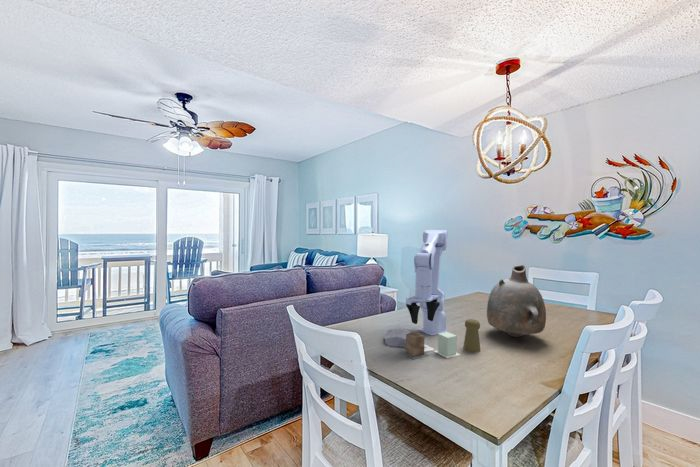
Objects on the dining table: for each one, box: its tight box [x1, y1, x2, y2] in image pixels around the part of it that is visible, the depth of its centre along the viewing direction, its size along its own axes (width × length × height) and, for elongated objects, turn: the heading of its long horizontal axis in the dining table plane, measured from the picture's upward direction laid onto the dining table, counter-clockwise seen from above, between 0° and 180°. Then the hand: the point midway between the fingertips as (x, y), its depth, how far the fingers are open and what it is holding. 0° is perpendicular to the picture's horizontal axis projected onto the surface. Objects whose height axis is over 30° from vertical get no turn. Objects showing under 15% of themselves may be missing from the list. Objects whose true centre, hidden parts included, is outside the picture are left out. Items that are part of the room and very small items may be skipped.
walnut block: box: [405, 331, 426, 357], centre depth 107 cm, size 4×4×6 cm
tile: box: [433, 349, 461, 359], centre depth 109 cm, size 6×6×1 cm
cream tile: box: [424, 343, 435, 353], centre depth 113 cm, size 6×6×1 cm
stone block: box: [383, 328, 411, 348], centre depth 119 cm, size 12×5×10 cm
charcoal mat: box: [400, 349, 430, 361], centre depth 108 cm, size 7×7×1 cm
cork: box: [462, 318, 481, 353], centre depth 113 cm, size 6×6×11 cm
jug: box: [486, 264, 547, 338], centre depth 126 cm, size 24×21×30 cm
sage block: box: [437, 331, 458, 356], centre depth 109 cm, size 4×4×6 cm
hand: (422, 321), depth 113 cm, fingers open, 7 cm apart
